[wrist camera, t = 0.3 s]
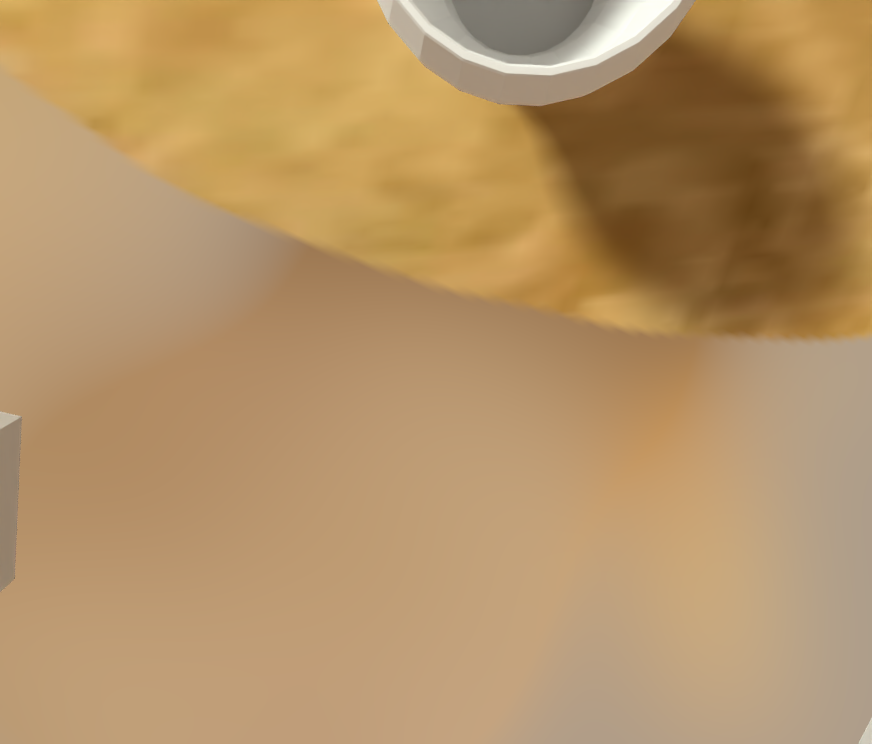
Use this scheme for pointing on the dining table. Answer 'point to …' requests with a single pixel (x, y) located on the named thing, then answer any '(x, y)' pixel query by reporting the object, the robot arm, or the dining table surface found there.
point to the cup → (533, 43)
